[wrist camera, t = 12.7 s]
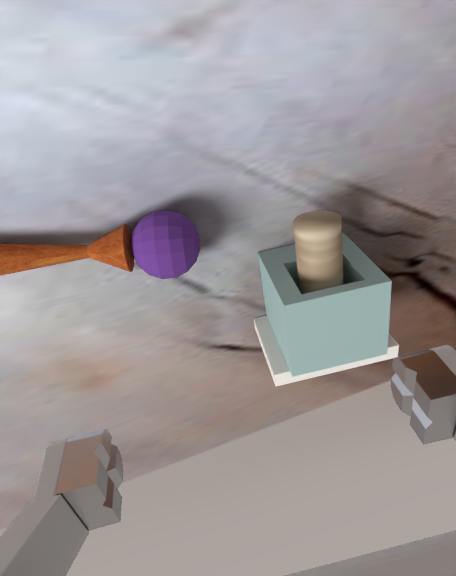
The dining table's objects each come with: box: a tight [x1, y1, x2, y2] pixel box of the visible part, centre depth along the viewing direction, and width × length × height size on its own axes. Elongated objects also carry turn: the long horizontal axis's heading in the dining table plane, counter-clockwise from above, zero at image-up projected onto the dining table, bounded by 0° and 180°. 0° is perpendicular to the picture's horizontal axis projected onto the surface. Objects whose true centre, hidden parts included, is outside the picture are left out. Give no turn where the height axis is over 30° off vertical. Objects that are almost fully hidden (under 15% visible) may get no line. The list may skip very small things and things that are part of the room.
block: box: [258, 233, 392, 377], centre depth 39 cm, size 8×9×10 cm
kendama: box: [0, 210, 200, 279], centre depth 35 cm, size 6×6×20 cm
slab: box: [254, 316, 399, 386], centre depth 42 cm, size 2×12×9 cm, turn 99°
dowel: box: [293, 210, 344, 294], centre depth 37 cm, size 10×4×4 cm, turn 10°
